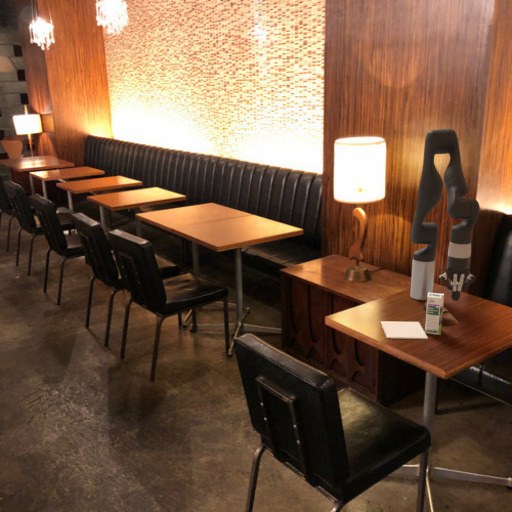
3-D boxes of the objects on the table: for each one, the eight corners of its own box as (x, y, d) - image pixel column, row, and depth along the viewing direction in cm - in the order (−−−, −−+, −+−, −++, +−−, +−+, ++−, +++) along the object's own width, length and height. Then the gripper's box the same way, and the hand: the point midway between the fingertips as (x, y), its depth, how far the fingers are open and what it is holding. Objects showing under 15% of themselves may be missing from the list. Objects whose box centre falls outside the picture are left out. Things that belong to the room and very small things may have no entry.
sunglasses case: (460, 323, 207) (453, 310, 206) (444, 333, 208) (437, 319, 206) (442, 307, 225) (435, 294, 223) (427, 315, 225) (420, 303, 224)
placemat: (380, 322, 210) (380, 321, 210) (418, 323, 209) (418, 321, 209) (386, 338, 196) (386, 337, 195) (427, 339, 194) (427, 337, 194)
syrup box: (424, 333, 199) (427, 296, 195) (425, 327, 205) (428, 291, 201) (440, 335, 197) (443, 298, 193) (441, 329, 203) (444, 293, 199)
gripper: (474, 251, 196) (470, 296, 200) (437, 251, 197) (433, 296, 201) (481, 257, 188) (476, 304, 193) (443, 257, 189) (439, 303, 194)
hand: (455, 300), depth 197 cm, fingers closed
